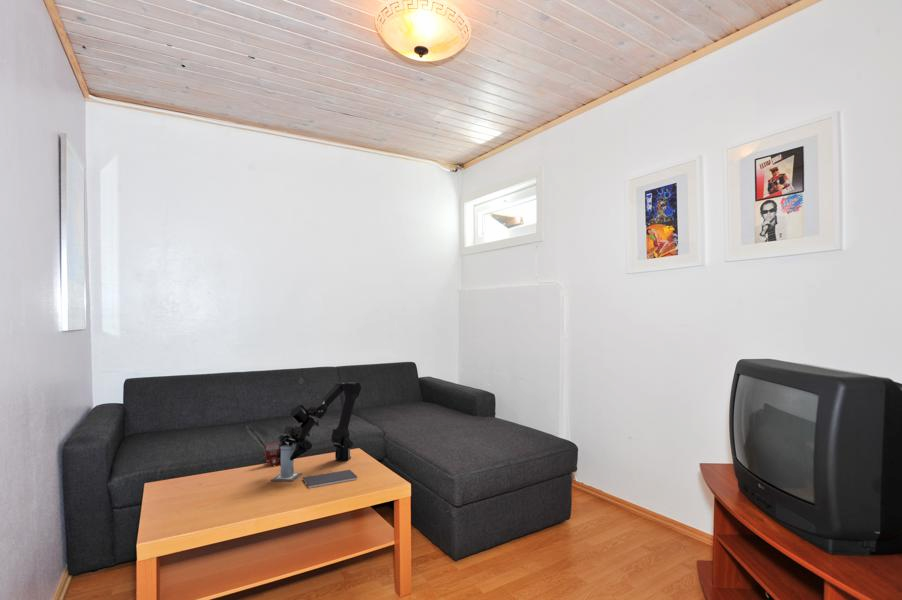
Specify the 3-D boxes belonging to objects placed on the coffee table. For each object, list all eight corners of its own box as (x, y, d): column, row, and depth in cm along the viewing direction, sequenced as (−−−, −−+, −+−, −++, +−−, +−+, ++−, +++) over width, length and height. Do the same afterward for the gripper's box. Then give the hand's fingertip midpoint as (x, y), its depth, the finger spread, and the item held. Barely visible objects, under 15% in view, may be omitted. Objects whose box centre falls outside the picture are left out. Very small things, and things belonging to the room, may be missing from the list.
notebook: (349, 472, 215) (302, 480, 205) (349, 469, 215) (302, 477, 205) (358, 480, 204) (308, 489, 194) (358, 476, 204) (308, 485, 194)
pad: (302, 474, 213) (302, 472, 213) (292, 481, 203) (292, 479, 203) (281, 473, 214) (281, 472, 214) (270, 481, 204) (270, 479, 204)
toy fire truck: (292, 462, 231) (292, 441, 232) (266, 467, 224) (266, 445, 225) (288, 459, 237) (288, 439, 238) (263, 464, 230) (263, 443, 231)
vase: (294, 473, 212) (294, 444, 213) (293, 477, 206) (293, 447, 207) (280, 474, 211) (281, 445, 212) (279, 478, 205) (279, 448, 206)
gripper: (282, 416, 218) (260, 445, 209) (307, 420, 208) (285, 451, 198) (296, 430, 224) (276, 459, 215) (321, 435, 214) (301, 465, 204)
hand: (284, 458), depth 208 cm, fingers open, 9 cm apart
